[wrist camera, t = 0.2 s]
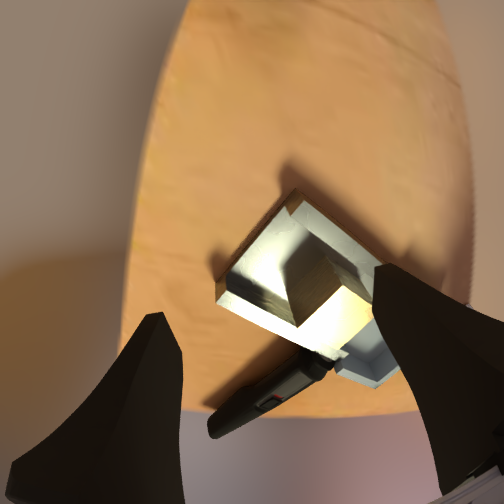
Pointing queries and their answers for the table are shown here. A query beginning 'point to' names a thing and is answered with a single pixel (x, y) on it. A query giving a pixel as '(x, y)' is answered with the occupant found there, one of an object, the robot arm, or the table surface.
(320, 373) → the electric trimmer
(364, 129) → the table surface
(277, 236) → the slot bed
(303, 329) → the yellow cube
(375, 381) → the tray
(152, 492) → the robot arm
